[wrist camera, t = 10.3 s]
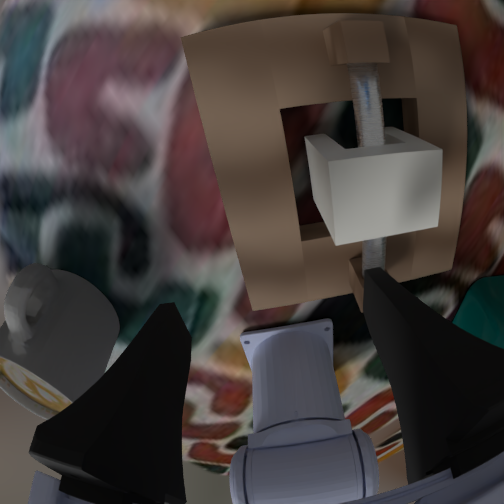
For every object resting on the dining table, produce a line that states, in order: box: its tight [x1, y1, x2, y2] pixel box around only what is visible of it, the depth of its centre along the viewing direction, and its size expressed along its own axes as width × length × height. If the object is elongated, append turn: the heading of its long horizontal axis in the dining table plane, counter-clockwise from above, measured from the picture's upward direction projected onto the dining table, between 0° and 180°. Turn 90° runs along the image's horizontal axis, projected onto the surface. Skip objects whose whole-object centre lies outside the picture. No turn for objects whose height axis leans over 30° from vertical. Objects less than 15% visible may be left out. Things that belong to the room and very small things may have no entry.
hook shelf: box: [181, 13, 467, 313], centre depth 15 cm, size 18×16×5 cm
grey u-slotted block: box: [304, 127, 443, 246], centre depth 14 cm, size 4×6×6 cm
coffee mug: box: [0, 263, 120, 420], centre depth 19 cm, size 13×10×10 cm
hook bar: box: [347, 63, 387, 279], centre depth 14 cm, size 14×1×1 cm, turn 12°
